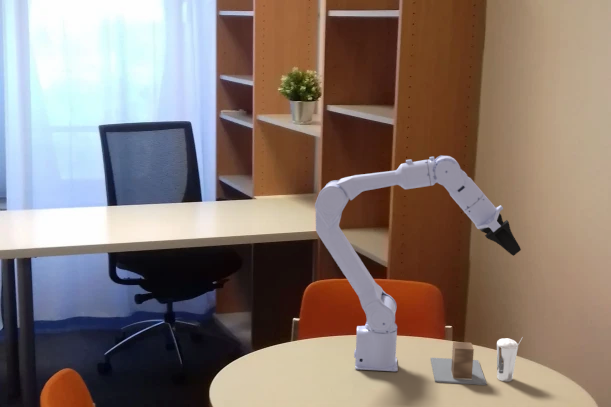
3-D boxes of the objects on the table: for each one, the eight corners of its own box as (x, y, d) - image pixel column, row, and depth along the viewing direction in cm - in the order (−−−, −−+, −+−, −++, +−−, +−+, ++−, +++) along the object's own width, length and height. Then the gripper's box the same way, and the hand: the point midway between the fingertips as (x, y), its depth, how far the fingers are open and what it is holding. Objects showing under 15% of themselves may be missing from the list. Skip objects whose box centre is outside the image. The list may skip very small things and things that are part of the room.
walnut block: (453, 378, 160) (455, 348, 159) (451, 371, 164) (453, 341, 163) (471, 379, 160) (473, 349, 159) (469, 372, 164) (471, 342, 163)
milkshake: (520, 384, 159) (523, 340, 157) (494, 381, 160) (498, 338, 159) (518, 376, 164) (521, 333, 162) (493, 373, 165) (496, 331, 163)
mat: (435, 382, 159) (435, 380, 159) (430, 359, 172) (430, 357, 172) (486, 385, 158) (486, 383, 158) (478, 361, 171) (478, 360, 171)
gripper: (492, 193, 151) (535, 243, 151) (483, 186, 165) (522, 232, 165) (466, 215, 152) (508, 265, 152) (458, 206, 166) (497, 251, 166)
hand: (513, 249), depth 159 cm, fingers open, 7 cm apart
